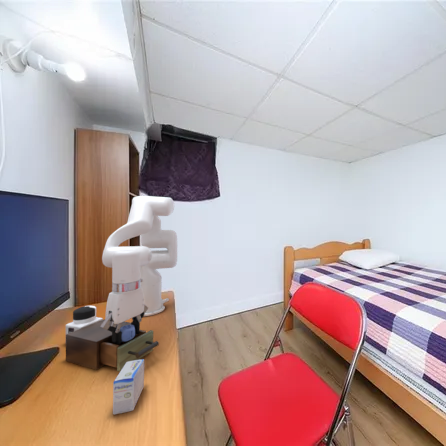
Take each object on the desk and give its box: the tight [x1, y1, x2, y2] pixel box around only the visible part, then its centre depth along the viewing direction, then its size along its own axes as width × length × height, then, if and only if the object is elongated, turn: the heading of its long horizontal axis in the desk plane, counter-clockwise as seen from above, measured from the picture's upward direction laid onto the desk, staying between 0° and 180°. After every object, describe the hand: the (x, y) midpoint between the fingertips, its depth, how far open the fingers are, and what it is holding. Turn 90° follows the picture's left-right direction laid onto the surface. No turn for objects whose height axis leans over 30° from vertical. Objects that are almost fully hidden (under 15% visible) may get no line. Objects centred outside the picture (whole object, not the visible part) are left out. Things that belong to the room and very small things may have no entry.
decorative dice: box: [120, 325, 135, 342], centre depth 74 cm, size 4×4×4 cm
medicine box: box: [112, 358, 145, 416], centre depth 57 cm, size 8×4×9 cm, turn 20°
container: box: [65, 305, 104, 335], centre depth 84 cm, size 8×8×13 cm
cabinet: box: [65, 318, 131, 371], centre depth 76 cm, size 15×13×9 cm
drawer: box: [99, 329, 160, 373], centre depth 73 cm, size 18×11×7 cm, turn 75°
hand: (126, 337), depth 74 cm, fingers closed on decorative dice, 5 cm apart
